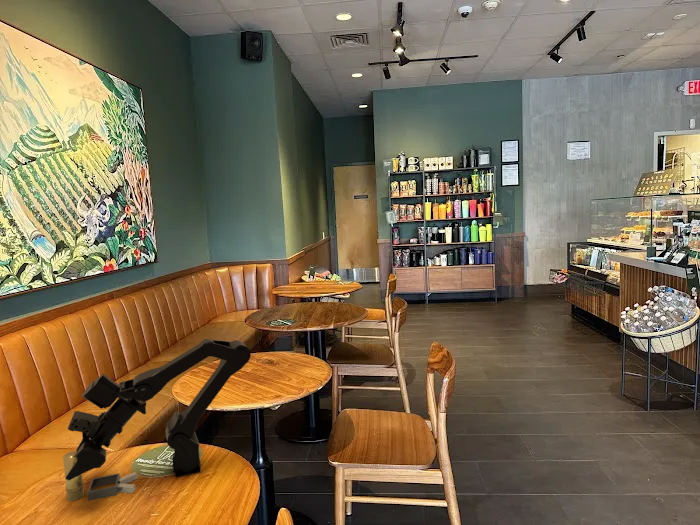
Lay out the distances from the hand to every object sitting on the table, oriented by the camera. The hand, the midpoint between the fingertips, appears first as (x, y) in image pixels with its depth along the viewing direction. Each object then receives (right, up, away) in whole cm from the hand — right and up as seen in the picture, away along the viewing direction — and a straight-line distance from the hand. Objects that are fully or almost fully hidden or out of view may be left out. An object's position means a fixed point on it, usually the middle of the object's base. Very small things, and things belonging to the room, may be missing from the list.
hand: (69, 469), depth 112 cm
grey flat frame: (+9, -7, +4) cm, 12 cm away
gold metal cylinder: (+1, -7, +1) cm, 7 cm away
